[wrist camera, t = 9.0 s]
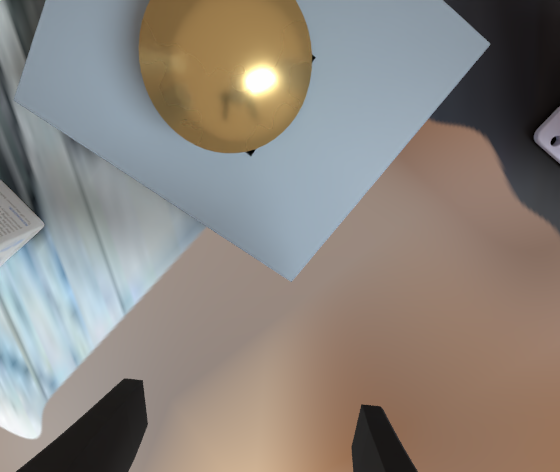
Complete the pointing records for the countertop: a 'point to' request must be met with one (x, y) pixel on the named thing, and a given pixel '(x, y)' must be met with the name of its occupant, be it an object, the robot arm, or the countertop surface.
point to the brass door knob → (226, 69)
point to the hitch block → (283, 149)
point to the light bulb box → (15, 223)
